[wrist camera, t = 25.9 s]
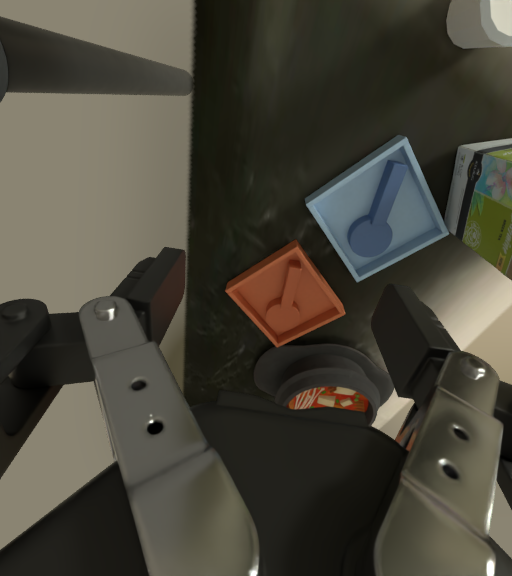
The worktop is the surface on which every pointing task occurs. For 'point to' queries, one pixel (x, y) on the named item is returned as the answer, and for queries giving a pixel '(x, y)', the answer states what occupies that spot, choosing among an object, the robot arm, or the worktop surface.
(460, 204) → the tea box
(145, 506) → the robot arm
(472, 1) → the white cup
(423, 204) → the blue tray
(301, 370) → the casserole
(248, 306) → the terracotta tray
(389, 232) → the blue spoon
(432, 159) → the worktop surface
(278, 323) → the orange disc-ended stick
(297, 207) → the worktop surface
